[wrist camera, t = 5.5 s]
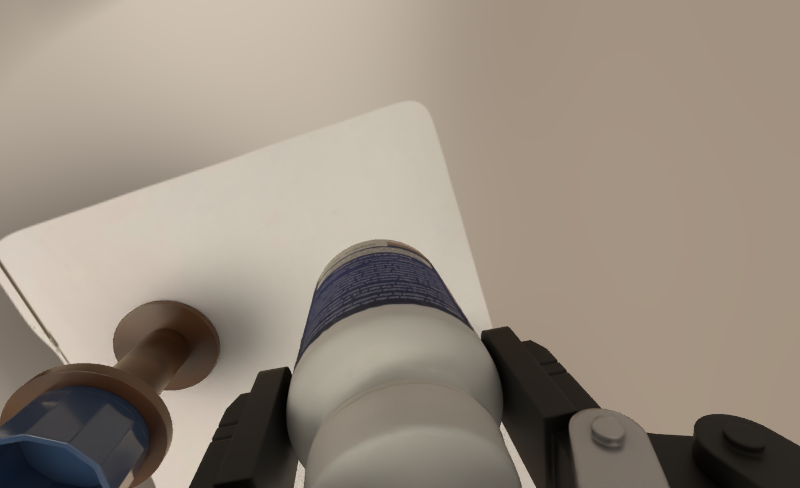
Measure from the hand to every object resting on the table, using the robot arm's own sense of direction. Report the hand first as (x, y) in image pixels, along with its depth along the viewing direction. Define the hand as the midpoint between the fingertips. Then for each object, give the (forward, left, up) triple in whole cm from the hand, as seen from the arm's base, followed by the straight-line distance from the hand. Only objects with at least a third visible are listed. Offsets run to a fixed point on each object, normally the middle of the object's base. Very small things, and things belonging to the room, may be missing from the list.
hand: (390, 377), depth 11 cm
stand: (+13, -24, -32) cm, 43 cm away
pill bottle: (0, 0, -6) cm, 6 cm away
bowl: (+13, -24, -18) cm, 33 cm away
